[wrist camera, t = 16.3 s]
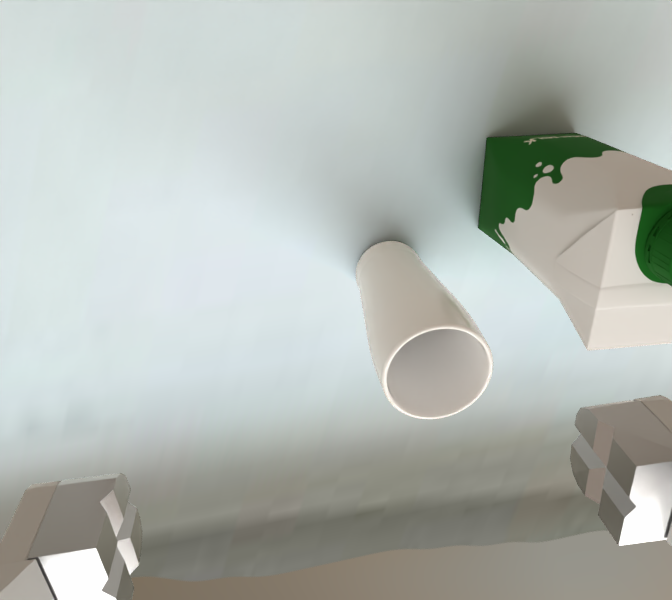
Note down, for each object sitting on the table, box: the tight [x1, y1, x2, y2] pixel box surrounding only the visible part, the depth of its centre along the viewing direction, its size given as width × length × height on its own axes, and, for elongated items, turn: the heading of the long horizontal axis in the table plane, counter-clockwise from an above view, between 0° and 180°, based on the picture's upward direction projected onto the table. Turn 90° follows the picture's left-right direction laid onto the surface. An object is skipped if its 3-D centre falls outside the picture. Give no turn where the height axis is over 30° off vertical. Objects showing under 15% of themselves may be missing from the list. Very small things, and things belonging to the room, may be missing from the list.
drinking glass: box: [356, 241, 493, 419], centre depth 40 cm, size 7×7×15 cm
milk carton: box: [478, 133, 672, 350], centre depth 36 cm, size 9×9×20 cm
